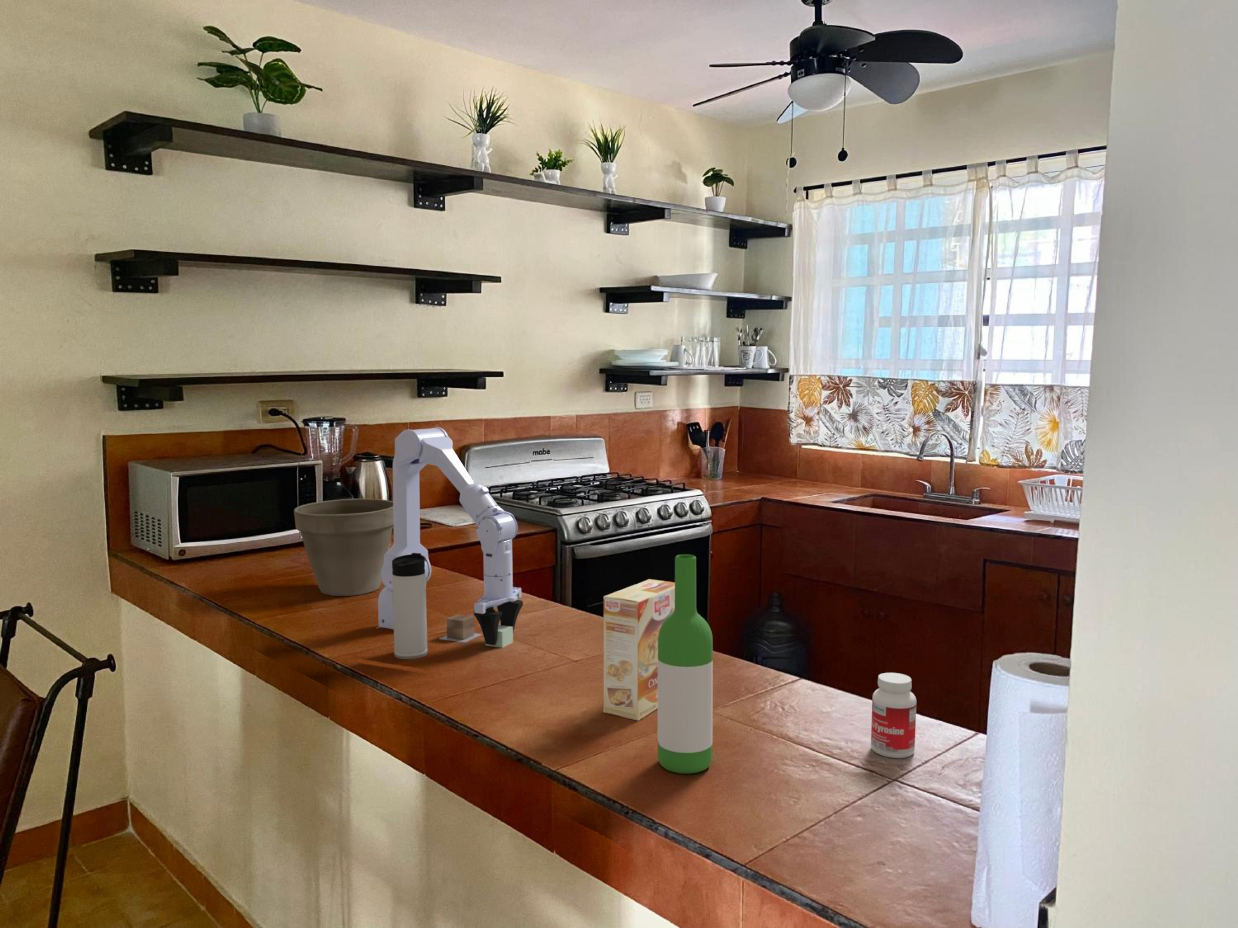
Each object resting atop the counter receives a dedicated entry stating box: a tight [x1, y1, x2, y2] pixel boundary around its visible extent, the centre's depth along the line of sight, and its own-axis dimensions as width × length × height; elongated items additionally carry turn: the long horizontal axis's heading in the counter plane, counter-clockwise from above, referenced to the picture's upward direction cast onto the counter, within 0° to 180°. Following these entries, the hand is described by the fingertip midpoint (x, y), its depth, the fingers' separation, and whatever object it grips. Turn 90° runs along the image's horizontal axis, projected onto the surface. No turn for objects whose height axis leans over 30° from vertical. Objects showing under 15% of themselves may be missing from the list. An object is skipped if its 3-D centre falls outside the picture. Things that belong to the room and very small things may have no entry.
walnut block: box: [446, 613, 475, 640], centre depth 193 cm, size 4×4×4 cm
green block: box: [485, 624, 514, 649], centre depth 188 cm, size 4×4×4 cm
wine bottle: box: [657, 553, 714, 775], centre depth 131 cm, size 8×8×30 cm
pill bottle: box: [870, 672, 917, 759], centre depth 136 cm, size 6×6×11 cm
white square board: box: [438, 632, 483, 644], centre depth 193 cm, size 12×12×1 cm
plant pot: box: [293, 498, 394, 597], centre depth 236 cm, size 25×25×22 cm
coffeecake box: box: [603, 578, 675, 721], centre depth 156 cm, size 15×7×20 cm, turn 148°
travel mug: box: [392, 553, 428, 660], centre depth 181 cm, size 6×7×20 cm
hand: (499, 640), depth 188 cm, fingers open, 6 cm apart
